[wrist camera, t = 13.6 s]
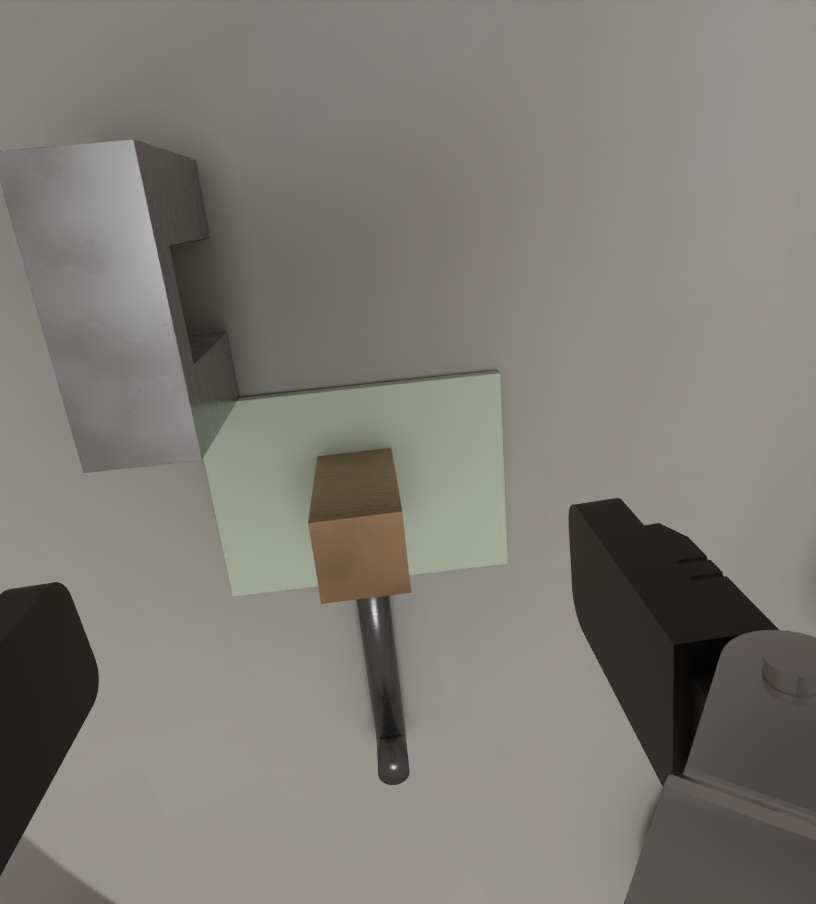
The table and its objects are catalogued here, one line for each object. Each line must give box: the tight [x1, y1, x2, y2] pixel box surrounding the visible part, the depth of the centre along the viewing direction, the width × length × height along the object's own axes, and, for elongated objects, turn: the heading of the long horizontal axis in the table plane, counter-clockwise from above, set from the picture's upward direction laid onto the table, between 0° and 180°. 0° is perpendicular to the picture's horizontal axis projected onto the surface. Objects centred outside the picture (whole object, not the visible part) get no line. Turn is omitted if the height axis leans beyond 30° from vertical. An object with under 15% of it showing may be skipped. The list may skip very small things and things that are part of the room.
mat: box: [203, 370, 508, 596], centre depth 32 cm, size 14×10×1 cm
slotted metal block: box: [0, 140, 239, 473], centre depth 24 cm, size 4×10×8 cm, turn 5°
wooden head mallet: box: [308, 448, 411, 785], centre depth 30 cm, size 17×4×7 cm, turn 5°
